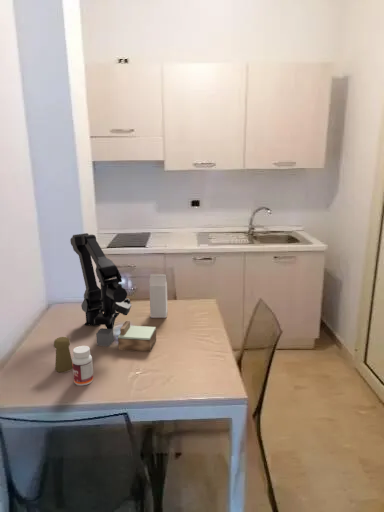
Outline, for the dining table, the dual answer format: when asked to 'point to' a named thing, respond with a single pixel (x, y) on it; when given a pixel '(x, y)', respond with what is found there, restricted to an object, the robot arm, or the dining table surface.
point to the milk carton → (158, 296)
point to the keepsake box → (137, 344)
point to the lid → (136, 332)
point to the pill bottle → (82, 365)
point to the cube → (104, 337)
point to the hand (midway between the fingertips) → (111, 331)
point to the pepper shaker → (63, 355)
